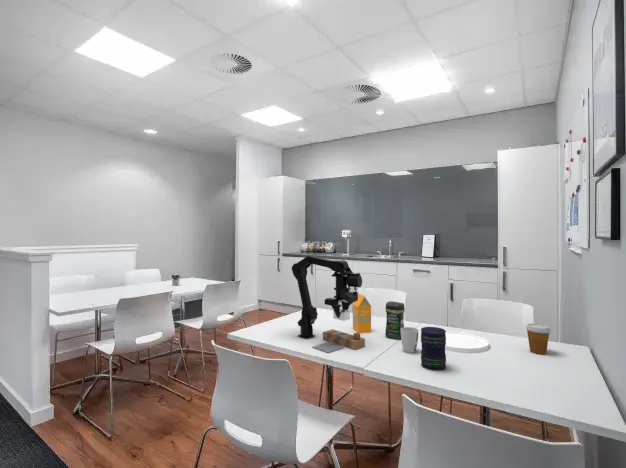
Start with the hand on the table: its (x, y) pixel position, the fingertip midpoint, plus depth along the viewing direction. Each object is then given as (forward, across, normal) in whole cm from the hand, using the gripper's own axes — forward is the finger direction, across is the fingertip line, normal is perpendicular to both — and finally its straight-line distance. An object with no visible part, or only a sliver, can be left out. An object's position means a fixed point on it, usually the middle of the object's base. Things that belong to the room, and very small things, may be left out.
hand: (341, 316), depth 176 cm
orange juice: (+13, +24, +7) cm, 28 cm away
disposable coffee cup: (+13, +55, -71) cm, 91 cm away
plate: (+14, +41, -40) cm, 59 cm away
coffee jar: (+13, +27, -13) cm, 33 cm away
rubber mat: (+13, -10, -1) cm, 17 cm away
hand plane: (+13, 0, -1) cm, 13 cm away
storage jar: (+13, +5, -47) cm, 49 cm away
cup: (+13, +14, -30) cm, 36 cm away
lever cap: (+1, 0, 0) cm, 1 cm away
